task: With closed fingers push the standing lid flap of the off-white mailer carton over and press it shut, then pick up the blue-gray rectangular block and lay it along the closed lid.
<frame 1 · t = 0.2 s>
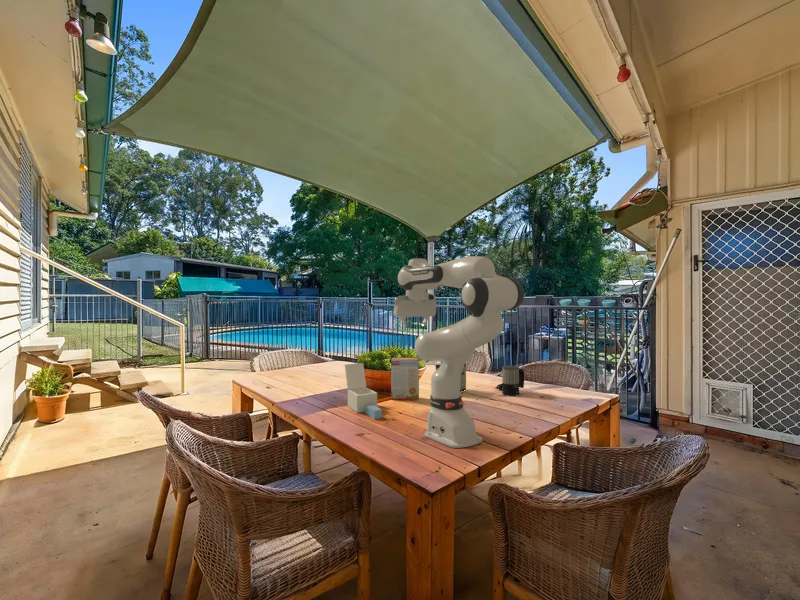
hand: (414, 326, 166), 39 cm above the table, tool pointing down, fingers open, 8 cm apart
cracker box: (405, 399, 195), on the table
lid flap: (355, 375, 185), point 14 cm above the table, hinge at 110.0°
carton: (362, 408, 178), on the table
protein box: (451, 392, 208), on the table
milk frother: (507, 392, 207), on the table
blue-gray rectangular block: (373, 416, 167), on the table
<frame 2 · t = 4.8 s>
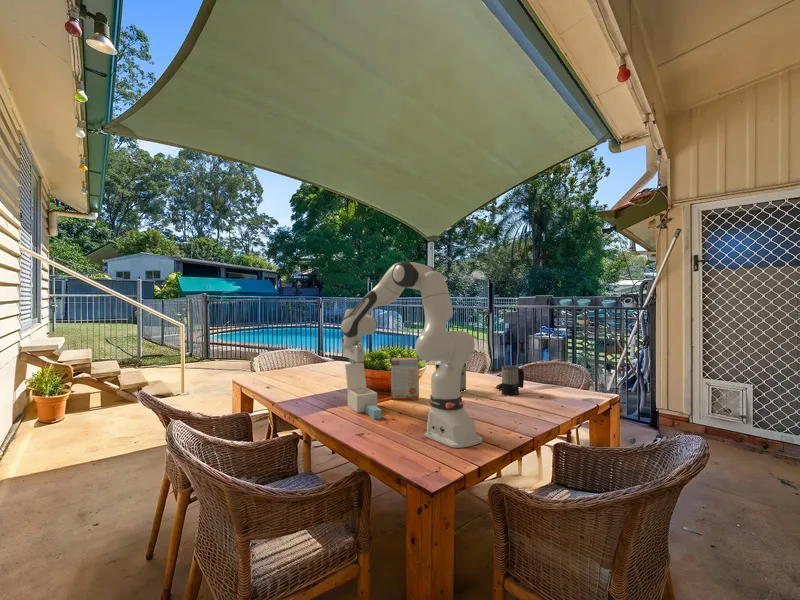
hand: (353, 368, 188), 17 cm above the table, tool pointing down, fingers closed
lid flap: (355, 375, 185), point 14 cm above the table, hinge at 107.5°, touching gripper
everything else where it was.
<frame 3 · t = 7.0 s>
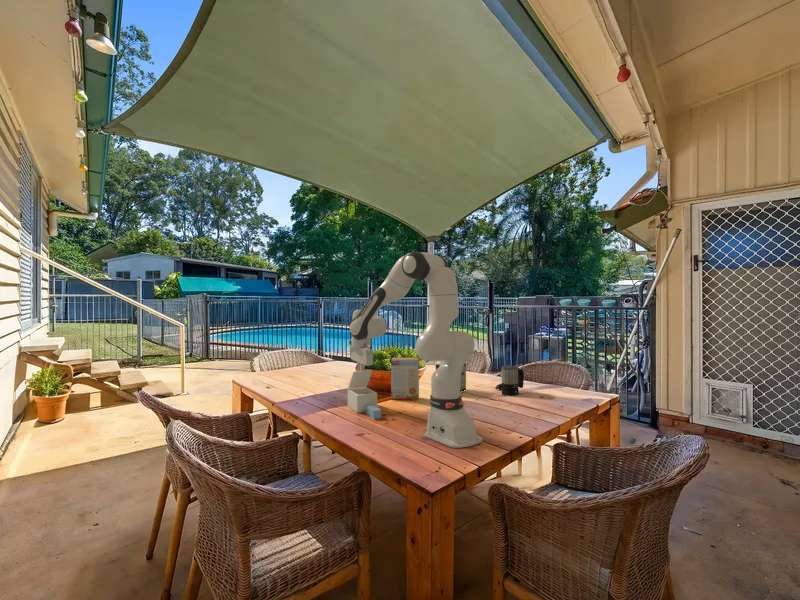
hand: (361, 371, 179), 17 cm above the table, tool pointing down, fingers closed
lid flap: (360, 379, 180), point 13 cm above the table, hinge at 51.0°, touching gripper
everything else where it was.
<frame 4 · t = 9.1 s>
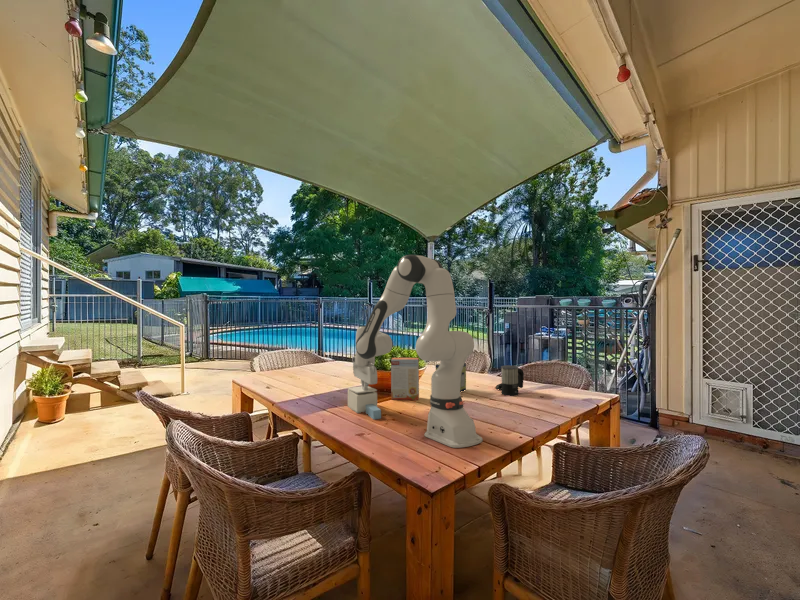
hand: (364, 389, 175), 9 cm above the table, tool pointing down, fingers closed, pressing on lid flap
lid flap: (362, 389, 178), point 9 cm above the table, hinge at 3.0°, touching gripper
everything else where it was.
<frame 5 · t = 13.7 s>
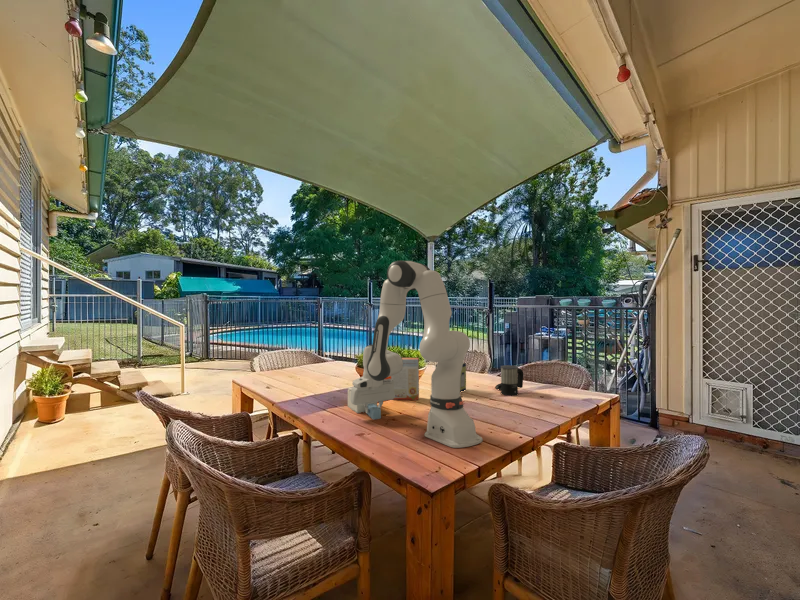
hand: (373, 411, 167), 2 cm above the table, tool pointing down, fingers closed on blue-gray rectangular block, 4 cm apart
lid flap: (362, 389, 178), point 9 cm above the table, hinge at 2.6°
blue-gray rectangular block: (373, 415, 167), on the table, touching gripper
everything else where it was.
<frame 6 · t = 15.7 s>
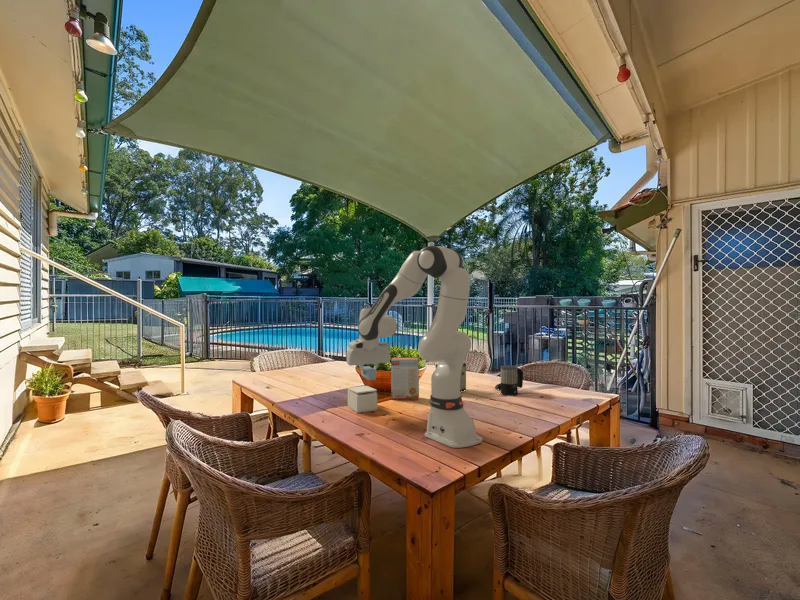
hand: (368, 373, 170), 18 cm above the table, tool pointing down, fingers closed on blue-gray rectangular block, 4 cm apart
blue-gray rectangular block: (368, 377, 170), point 16 cm above the table, touching gripper
everything else where it was.
when the fingers open (12 cm above the table, at t = 17.5 s): blue-gray rectangular block stays where it is, resting on lid flap.
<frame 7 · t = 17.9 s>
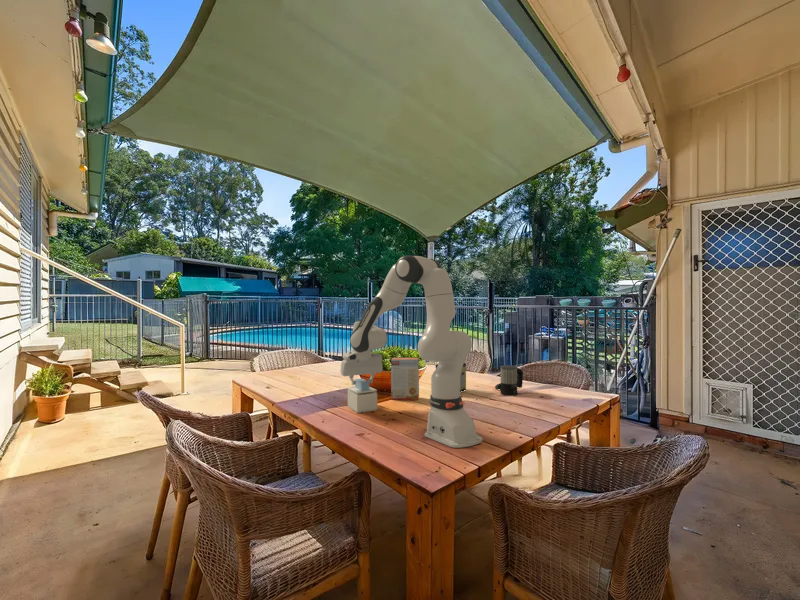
hand: (362, 383, 178), 12 cm above the table, tool pointing down, fingers open, 7 cm apart
lid flap: (362, 389, 178), point 9 cm above the table, hinge at 2.4°, touching blue-gray rectangular block
blue-gray rectangular block: (362, 388, 178), point 9 cm above the table, touching lid flap
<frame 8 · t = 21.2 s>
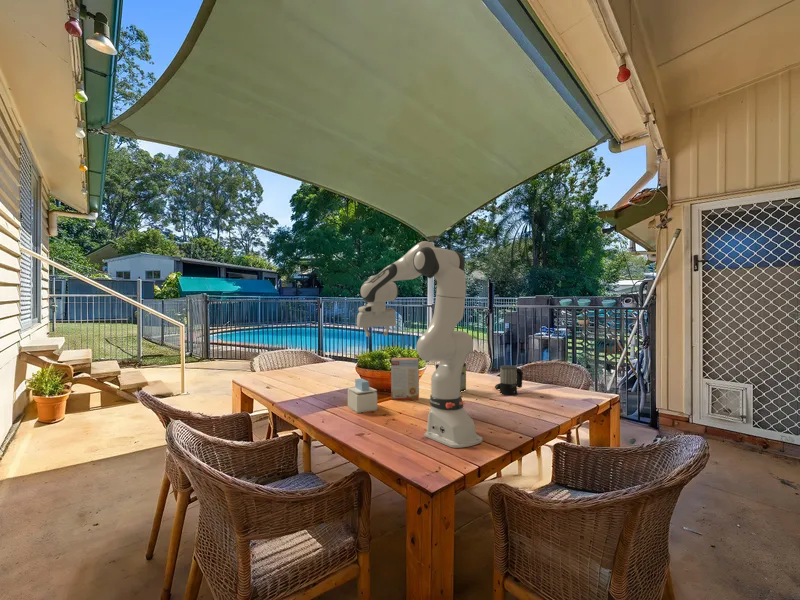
hand: (376, 336, 187), 33 cm above the table, tool pointing down, fingers open, 8 cm apart
at the end: lid flap at +2° (first picture: +110°); blue-gray rectangular block inside the target area on the carton (0.0 cm from its centre), point 9.1 cm above the carton's base; the gripper is holding nothing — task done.
